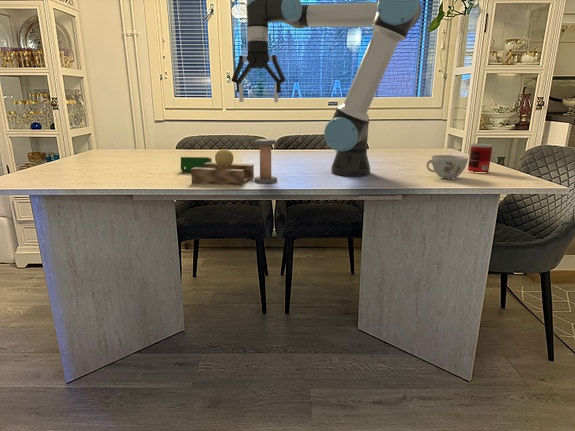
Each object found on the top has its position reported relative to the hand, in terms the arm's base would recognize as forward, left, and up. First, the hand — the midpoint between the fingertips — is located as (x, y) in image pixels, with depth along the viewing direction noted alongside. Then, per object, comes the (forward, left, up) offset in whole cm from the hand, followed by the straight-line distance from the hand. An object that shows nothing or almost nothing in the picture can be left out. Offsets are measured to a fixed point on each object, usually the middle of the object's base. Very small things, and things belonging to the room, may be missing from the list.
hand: (258, 102), depth 151 cm
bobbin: (-7, +16, -27) cm, 32 cm away
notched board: (+8, +18, -27) cm, 33 cm away
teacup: (-70, -7, -27) cm, 75 cm away
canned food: (-85, -23, -27) cm, 92 cm away
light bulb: (+8, +18, -26) cm, 32 cm away
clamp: (+25, +3, -27) cm, 37 cm away
